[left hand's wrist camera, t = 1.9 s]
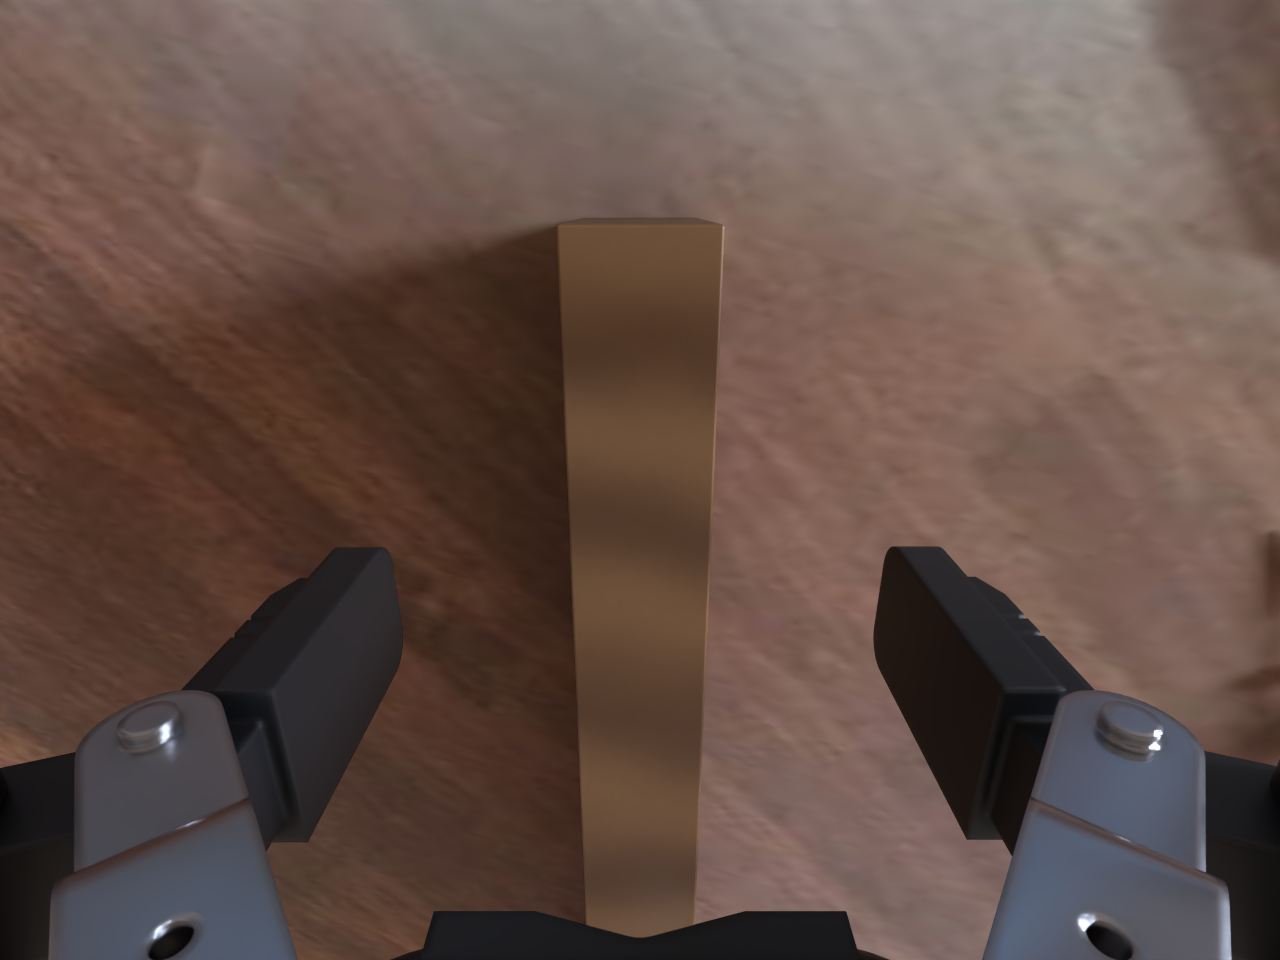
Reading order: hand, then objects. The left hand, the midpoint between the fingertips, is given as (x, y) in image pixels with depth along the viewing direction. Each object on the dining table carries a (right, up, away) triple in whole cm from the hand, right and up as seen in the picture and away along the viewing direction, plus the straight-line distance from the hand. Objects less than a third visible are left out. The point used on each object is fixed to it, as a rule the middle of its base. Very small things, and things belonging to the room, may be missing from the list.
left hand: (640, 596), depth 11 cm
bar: (0, -15, +25) cm, 29 cm away
